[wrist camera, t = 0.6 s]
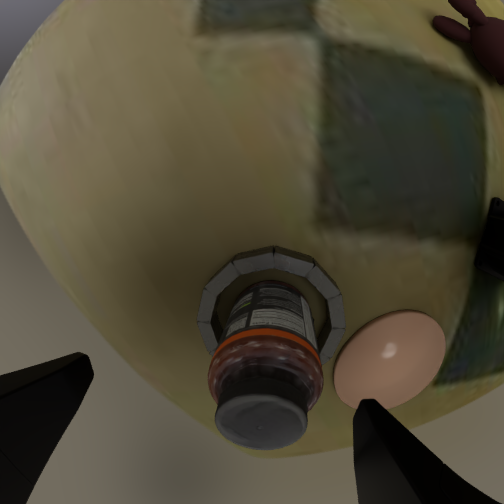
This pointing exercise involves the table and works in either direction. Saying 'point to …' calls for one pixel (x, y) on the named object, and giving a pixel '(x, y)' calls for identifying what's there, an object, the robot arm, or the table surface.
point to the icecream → (477, 35)
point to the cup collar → (284, 262)
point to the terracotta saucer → (390, 359)
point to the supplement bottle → (266, 368)
